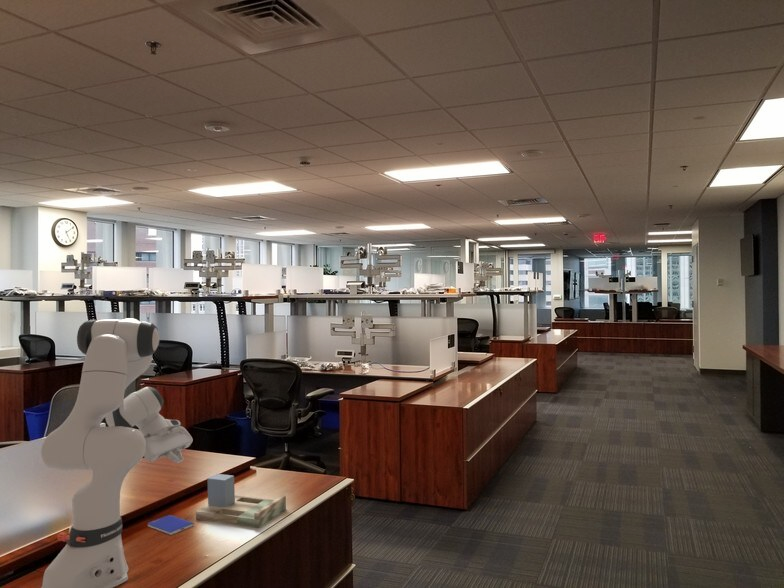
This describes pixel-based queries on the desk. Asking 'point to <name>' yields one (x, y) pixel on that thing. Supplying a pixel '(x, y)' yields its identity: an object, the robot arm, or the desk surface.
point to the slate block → (221, 490)
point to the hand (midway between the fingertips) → (180, 461)
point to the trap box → (244, 511)
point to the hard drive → (170, 524)
